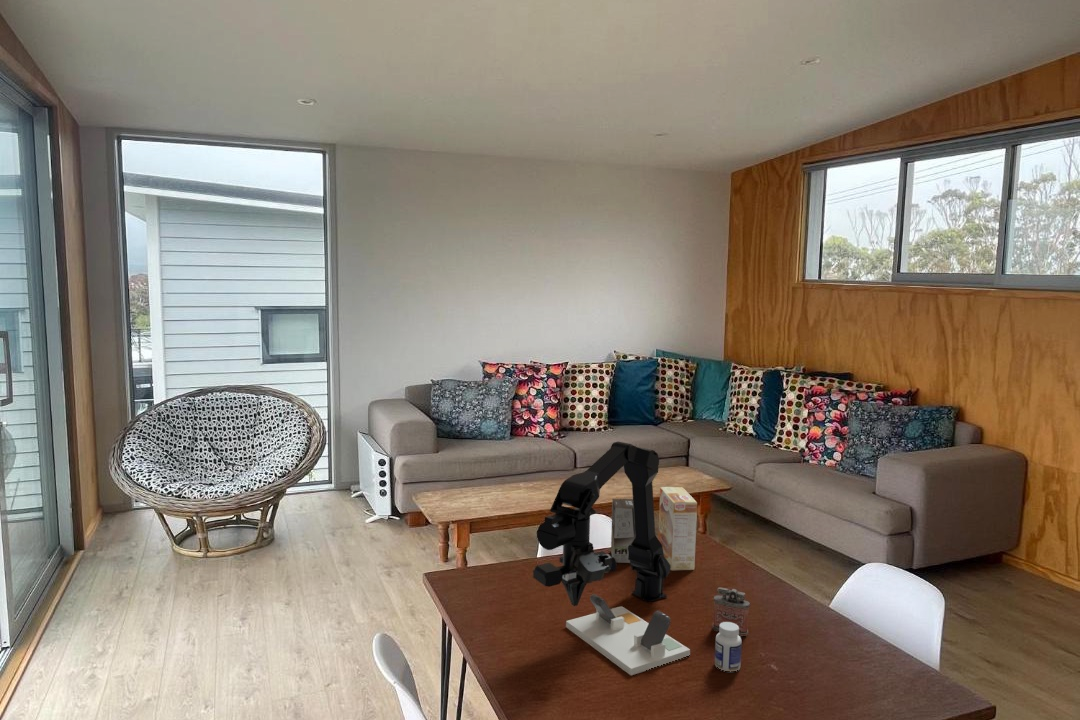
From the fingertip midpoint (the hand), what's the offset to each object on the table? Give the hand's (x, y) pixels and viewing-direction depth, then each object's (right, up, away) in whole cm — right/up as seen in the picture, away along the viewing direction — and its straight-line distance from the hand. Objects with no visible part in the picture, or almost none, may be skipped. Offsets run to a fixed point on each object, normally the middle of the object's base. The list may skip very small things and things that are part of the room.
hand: (574, 605), depth 167 cm
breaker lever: (+8, -5, +6) cm, 11 cm away
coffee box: (+16, -3, +51) cm, 53 cm away
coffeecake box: (+31, -3, +49) cm, 58 cm away
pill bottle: (+32, -10, -9) cm, 34 cm away
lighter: (+36, -8, +7) cm, 38 cm away
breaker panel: (+11, -8, +1) cm, 14 cm away
